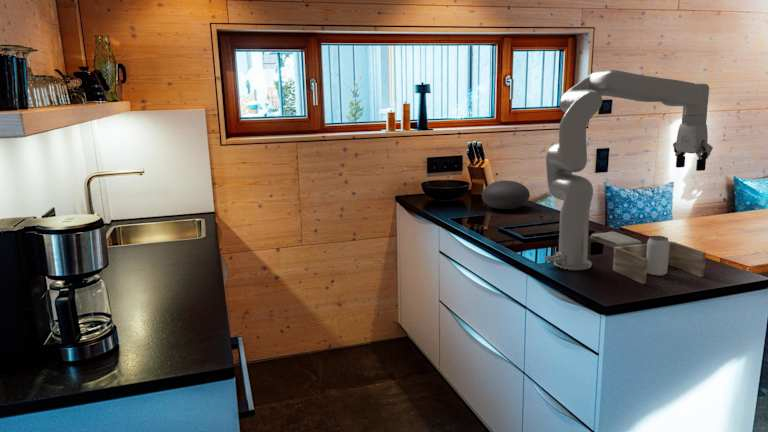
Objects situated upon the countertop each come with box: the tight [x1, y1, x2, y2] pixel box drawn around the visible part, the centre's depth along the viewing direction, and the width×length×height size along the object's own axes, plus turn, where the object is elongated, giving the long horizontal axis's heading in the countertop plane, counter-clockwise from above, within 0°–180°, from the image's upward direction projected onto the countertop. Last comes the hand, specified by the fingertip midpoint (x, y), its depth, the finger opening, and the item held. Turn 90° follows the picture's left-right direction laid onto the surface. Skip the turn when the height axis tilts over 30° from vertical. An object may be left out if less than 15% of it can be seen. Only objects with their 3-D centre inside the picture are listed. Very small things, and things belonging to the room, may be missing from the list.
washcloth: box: [589, 231, 643, 249], centre depth 222 cm, size 12×18×3 cm, turn 17°
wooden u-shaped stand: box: [612, 240, 707, 285], centre depth 182 cm, size 22×15×8 cm
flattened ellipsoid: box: [481, 179, 531, 210], centre depth 291 cm, size 25×25×15 cm
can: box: [646, 235, 670, 277], centre depth 182 cm, size 6×6×12 cm
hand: (690, 168), depth 197 cm, fingers open, 9 cm apart
